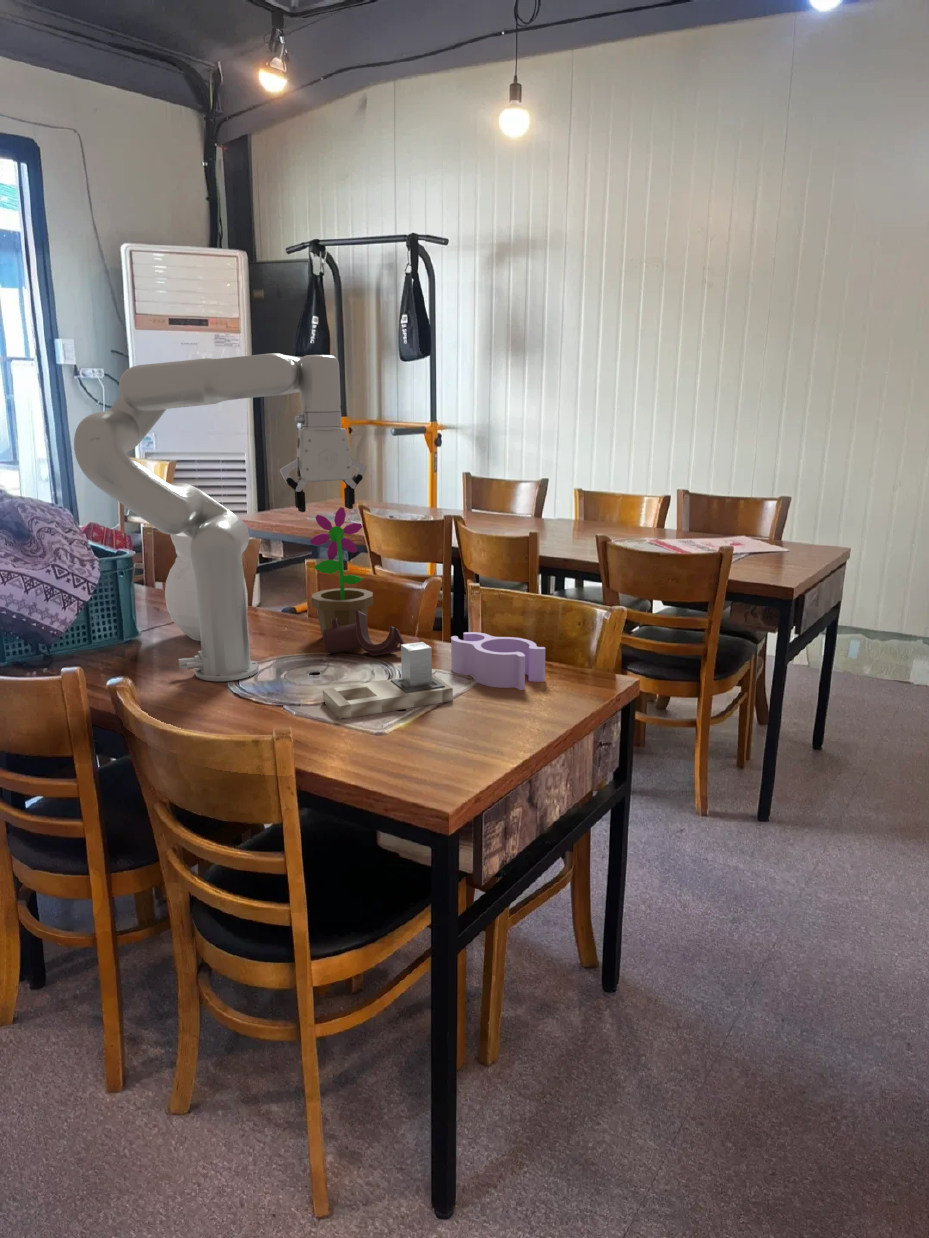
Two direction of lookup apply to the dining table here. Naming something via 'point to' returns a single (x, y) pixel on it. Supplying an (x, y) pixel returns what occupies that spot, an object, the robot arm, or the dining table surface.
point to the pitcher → (184, 589)
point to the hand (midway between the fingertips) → (325, 509)
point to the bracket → (359, 638)
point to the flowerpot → (340, 599)
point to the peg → (416, 665)
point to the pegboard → (383, 697)
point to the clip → (497, 660)
